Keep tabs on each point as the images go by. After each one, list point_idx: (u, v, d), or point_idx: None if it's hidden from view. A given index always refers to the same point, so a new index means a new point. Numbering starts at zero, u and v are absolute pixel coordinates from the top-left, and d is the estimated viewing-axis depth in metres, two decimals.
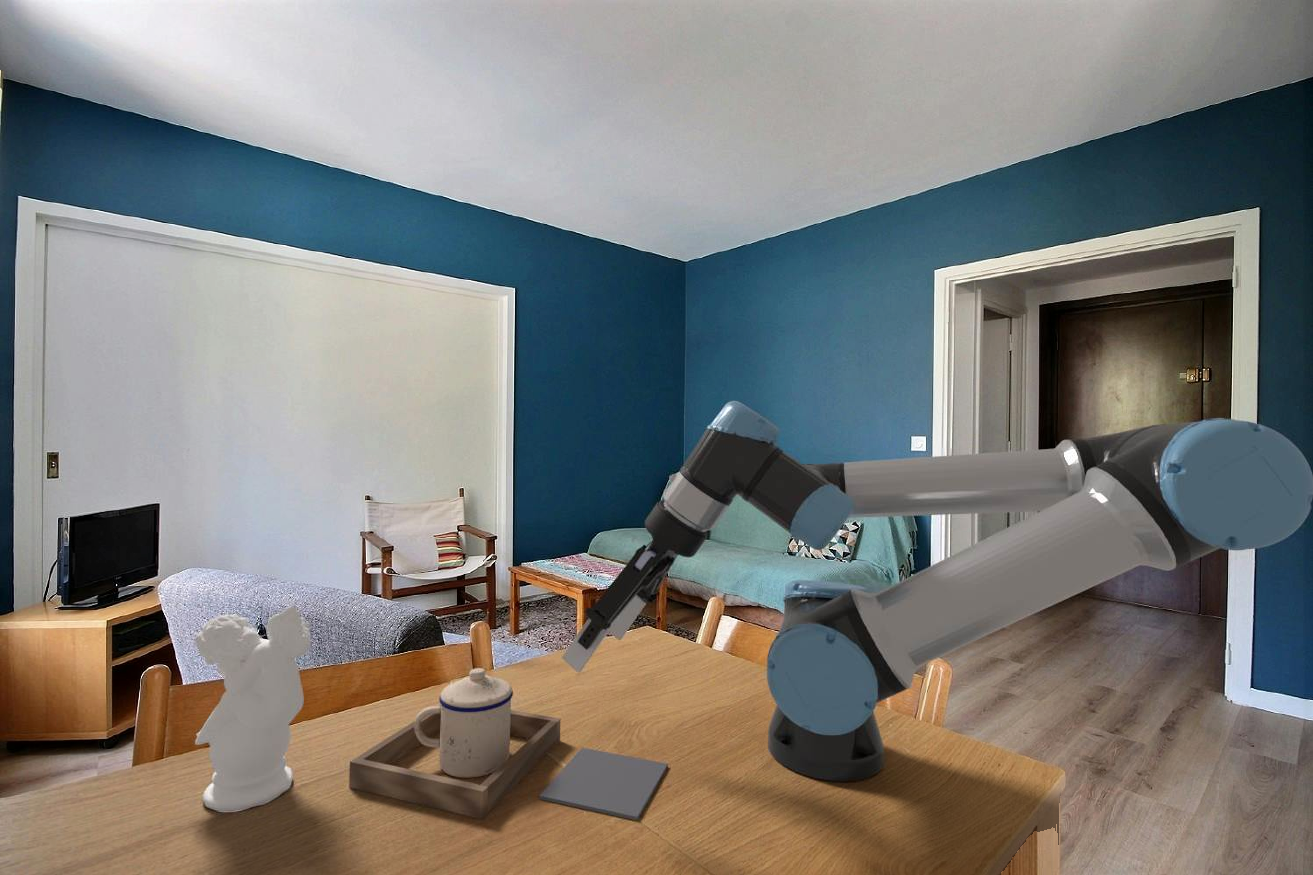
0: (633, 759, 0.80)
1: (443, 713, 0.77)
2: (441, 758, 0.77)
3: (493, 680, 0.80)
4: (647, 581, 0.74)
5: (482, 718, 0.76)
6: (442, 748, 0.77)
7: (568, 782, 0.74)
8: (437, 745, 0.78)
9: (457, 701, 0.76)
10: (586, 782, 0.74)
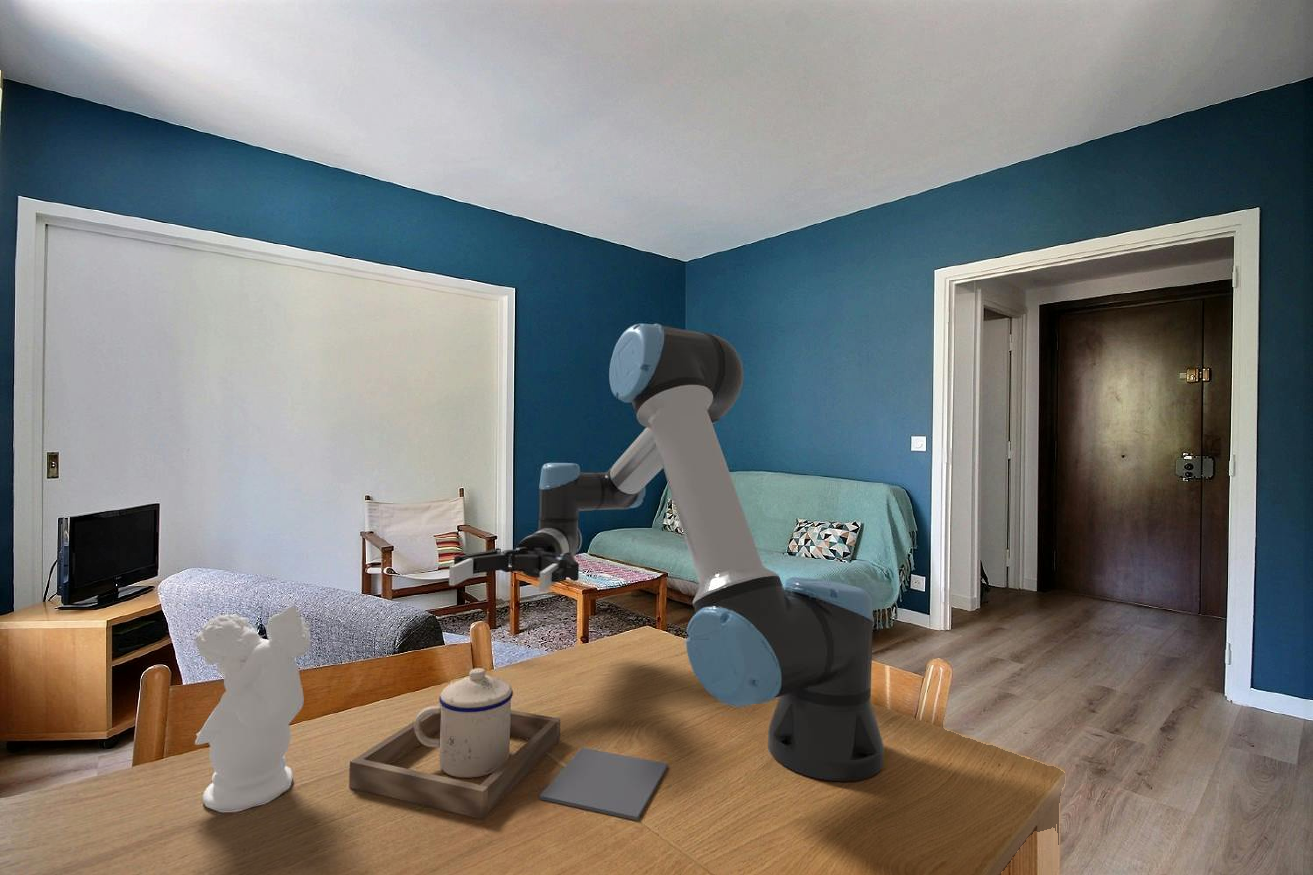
0: (633, 759, 0.80)
1: (443, 713, 0.77)
2: (441, 758, 0.77)
3: (493, 680, 0.80)
4: None
5: (482, 718, 0.76)
6: (442, 748, 0.77)
7: (568, 782, 0.74)
8: (437, 745, 0.78)
9: (457, 701, 0.76)
10: (586, 782, 0.74)
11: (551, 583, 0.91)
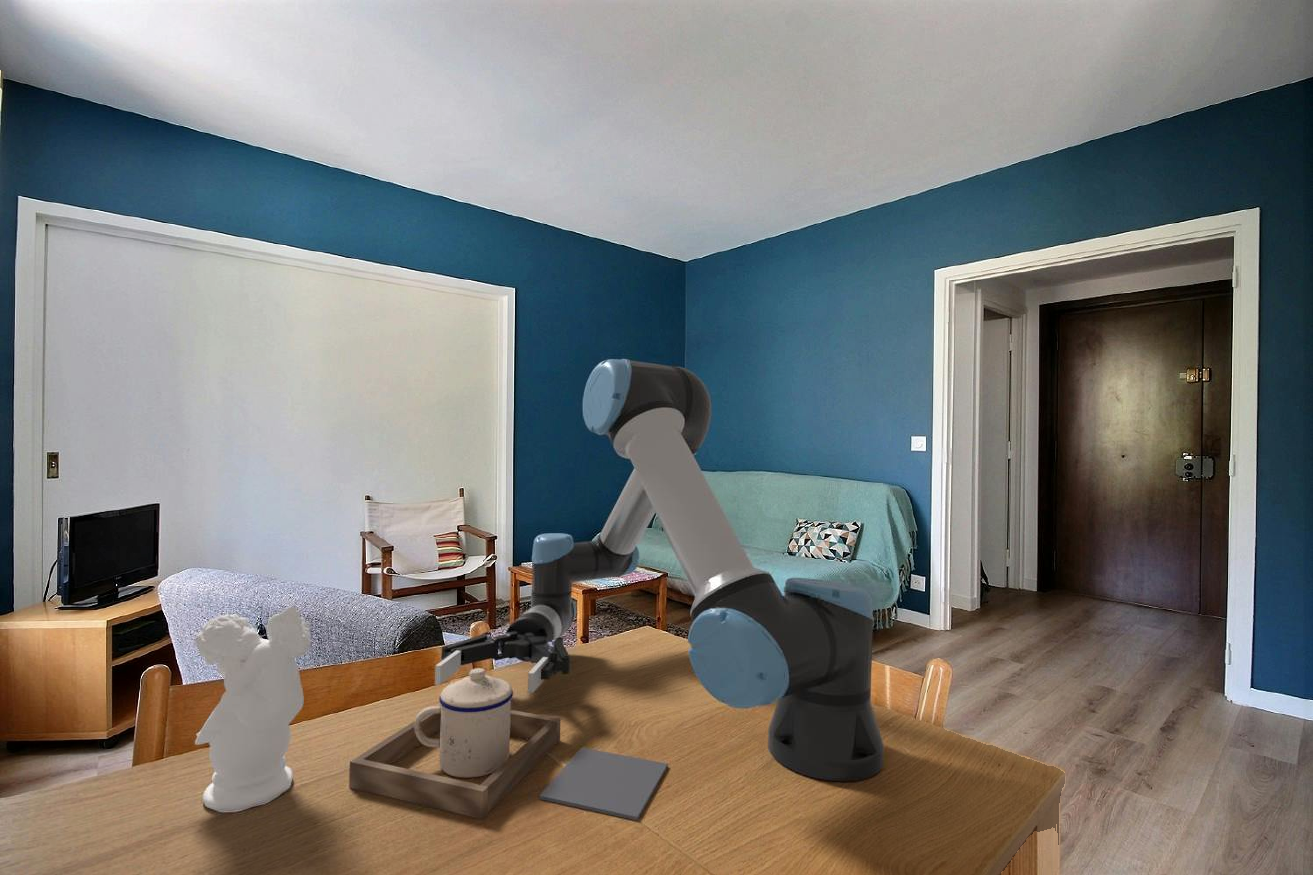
0: (633, 759, 0.80)
1: (443, 713, 0.77)
2: (441, 758, 0.77)
3: (493, 680, 0.80)
4: None
5: (482, 718, 0.76)
6: (442, 748, 0.77)
7: (568, 782, 0.74)
8: (437, 745, 0.78)
9: (457, 701, 0.76)
10: (586, 782, 0.74)
11: (540, 680, 0.88)
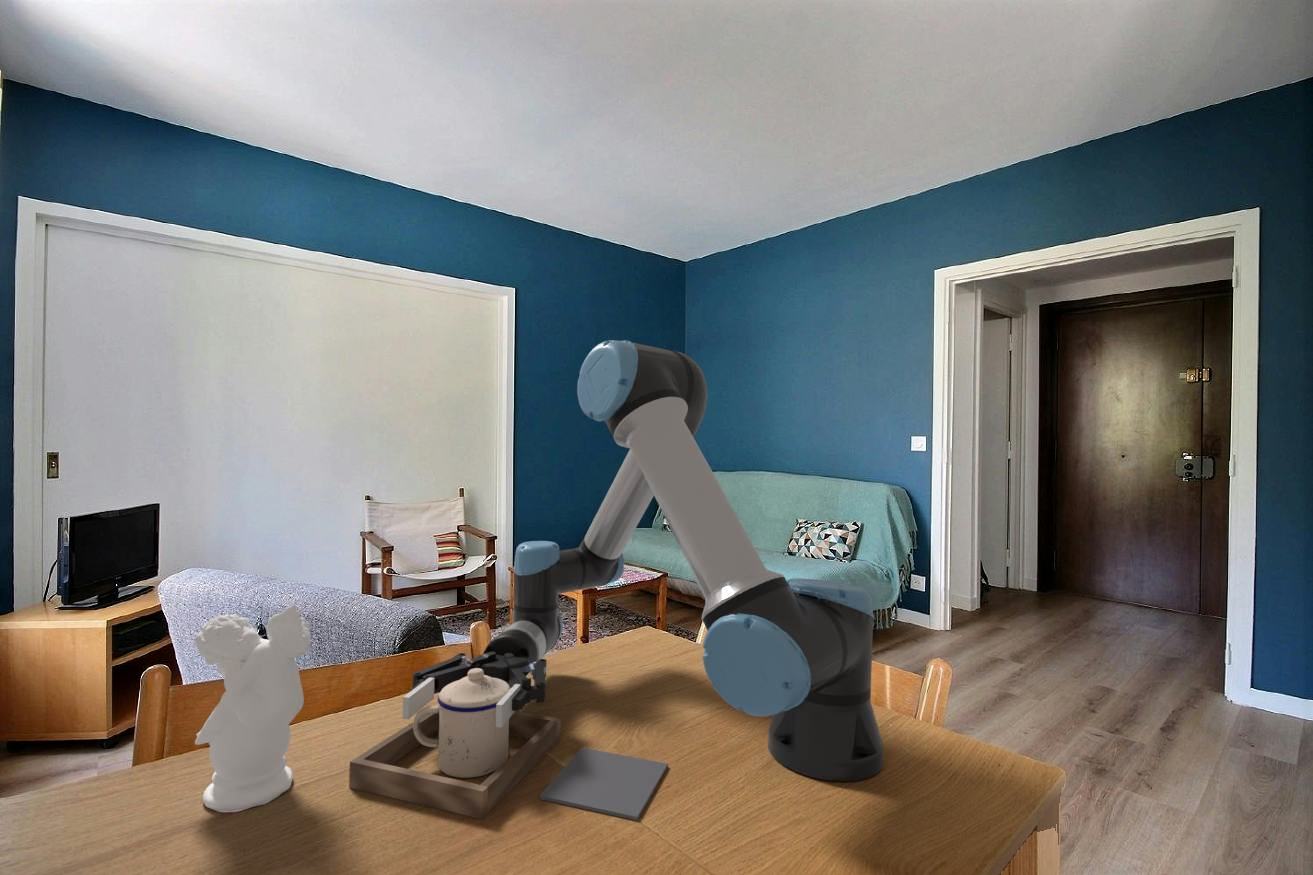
0: (633, 759, 0.80)
1: (441, 713, 0.77)
2: (439, 758, 0.77)
3: (491, 680, 0.80)
4: None
5: (480, 718, 0.75)
6: (440, 748, 0.77)
7: (568, 782, 0.74)
8: (436, 745, 0.78)
9: (455, 701, 0.75)
10: (586, 782, 0.74)
11: (511, 712, 0.78)
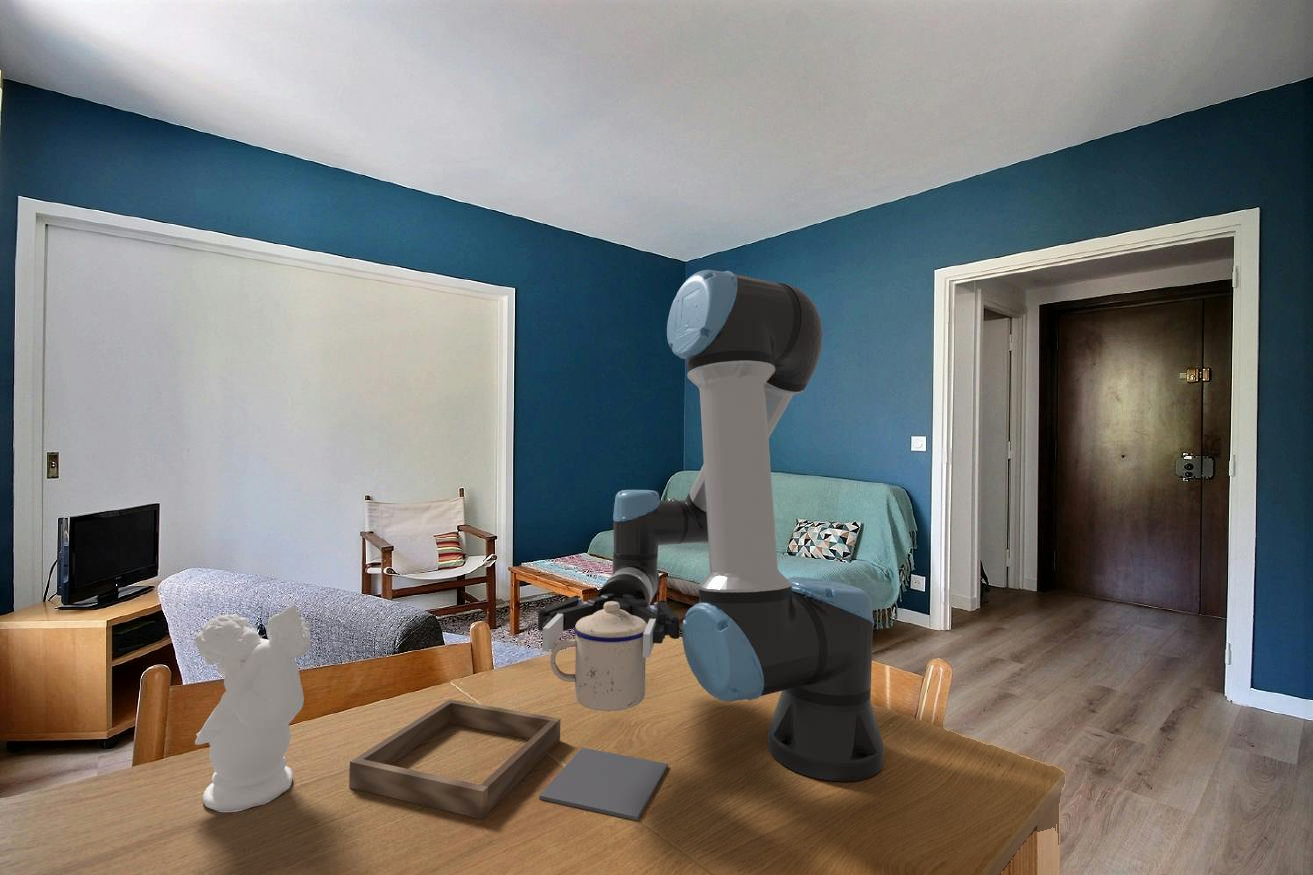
0: (633, 759, 0.80)
1: (581, 645, 0.73)
2: (579, 692, 0.74)
3: (628, 613, 0.76)
4: None
5: (624, 649, 0.72)
6: (580, 681, 0.73)
7: (568, 782, 0.74)
8: (573, 679, 0.74)
9: (598, 631, 0.72)
10: (586, 782, 0.74)
11: (652, 645, 0.75)
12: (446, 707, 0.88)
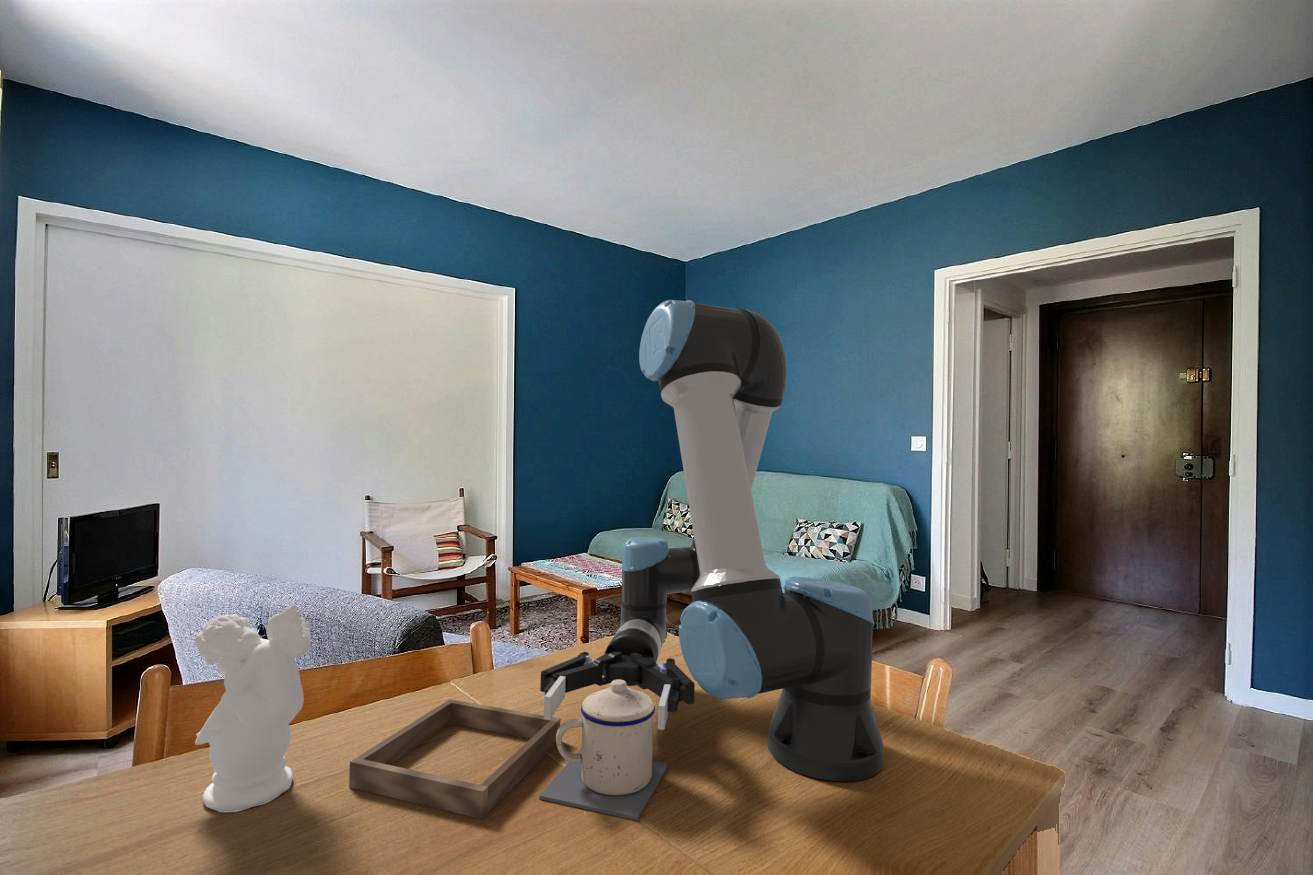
0: None
1: (588, 727, 0.73)
2: (586, 774, 0.73)
3: (635, 692, 0.76)
4: None
5: (631, 733, 0.72)
6: (587, 764, 0.73)
7: (568, 782, 0.74)
8: (580, 760, 0.74)
9: (604, 714, 0.72)
10: None
11: (667, 713, 0.75)
12: (446, 707, 0.88)
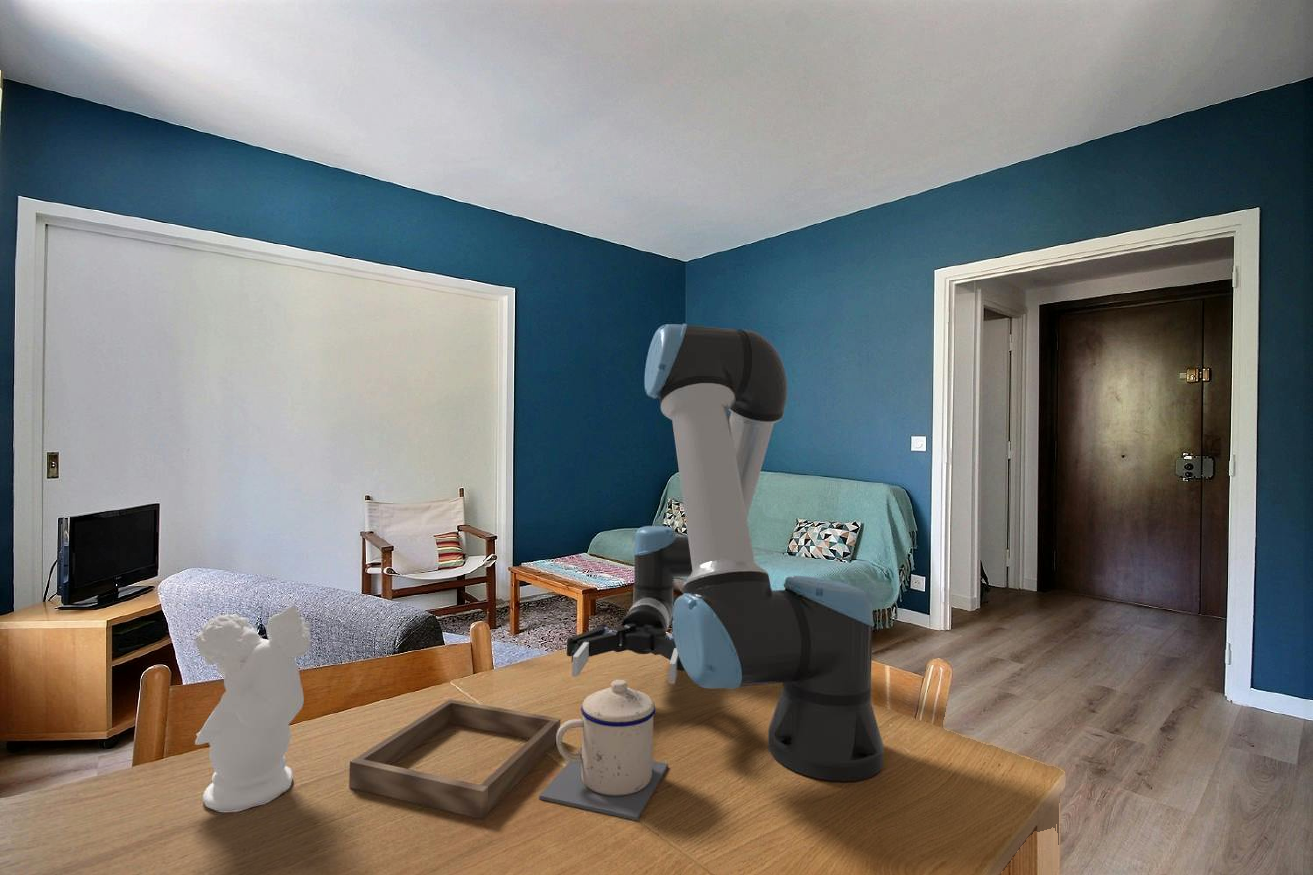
0: None
1: (588, 727, 0.73)
2: (586, 774, 0.73)
3: (635, 692, 0.76)
4: None
5: (631, 733, 0.72)
6: (587, 764, 0.73)
7: (568, 782, 0.74)
8: (580, 760, 0.74)
9: (605, 715, 0.72)
10: None
11: None
12: (446, 707, 0.88)
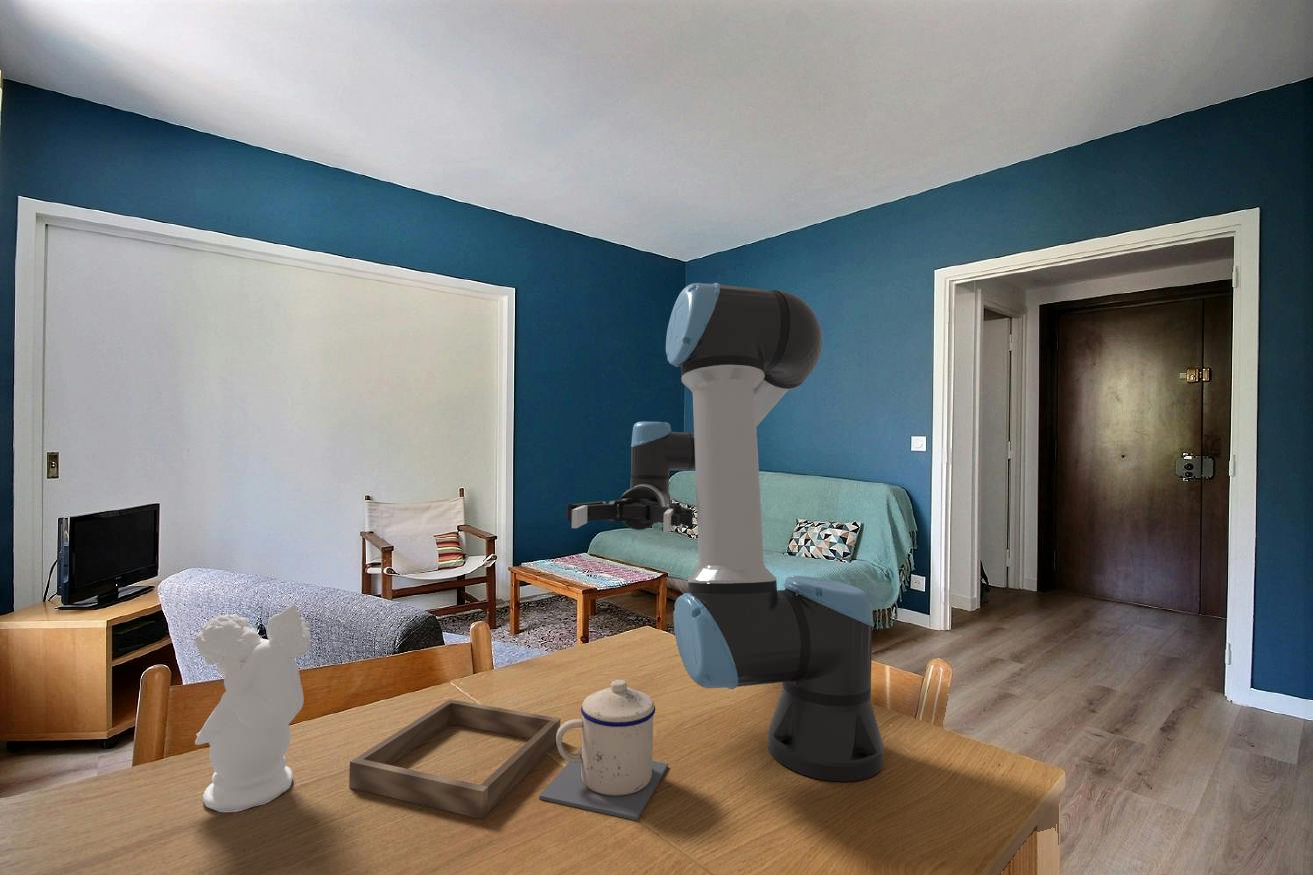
0: None
1: (588, 727, 0.73)
2: (586, 774, 0.73)
3: (635, 692, 0.76)
4: None
5: (631, 733, 0.72)
6: (587, 764, 0.73)
7: (568, 782, 0.74)
8: (580, 760, 0.74)
9: (604, 715, 0.72)
10: None
11: (670, 526, 0.92)
12: (446, 707, 0.88)
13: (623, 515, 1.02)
